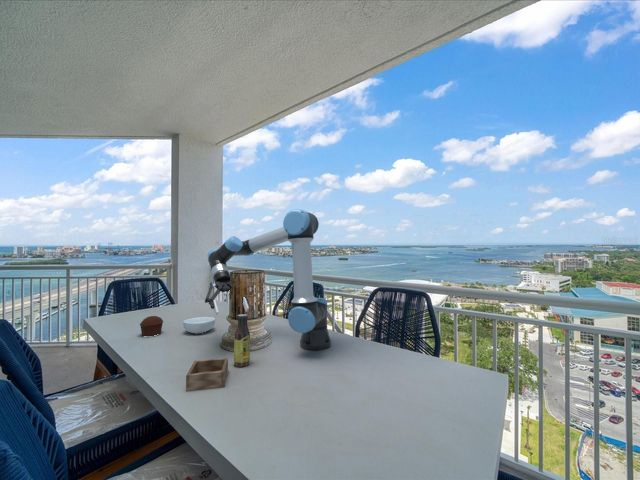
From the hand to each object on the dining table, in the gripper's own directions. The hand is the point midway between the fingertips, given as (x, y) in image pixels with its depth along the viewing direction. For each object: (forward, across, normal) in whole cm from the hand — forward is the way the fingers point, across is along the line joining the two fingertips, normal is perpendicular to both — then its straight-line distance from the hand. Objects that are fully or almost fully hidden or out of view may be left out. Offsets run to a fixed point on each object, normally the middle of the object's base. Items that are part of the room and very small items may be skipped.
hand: (232, 312), depth 124 cm
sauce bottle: (+21, 0, -6) cm, 22 cm away
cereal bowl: (-21, +1, -49) cm, 53 cm away
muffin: (-29, +23, -57) cm, 68 cm away
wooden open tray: (+26, +15, -2) cm, 30 cm away
